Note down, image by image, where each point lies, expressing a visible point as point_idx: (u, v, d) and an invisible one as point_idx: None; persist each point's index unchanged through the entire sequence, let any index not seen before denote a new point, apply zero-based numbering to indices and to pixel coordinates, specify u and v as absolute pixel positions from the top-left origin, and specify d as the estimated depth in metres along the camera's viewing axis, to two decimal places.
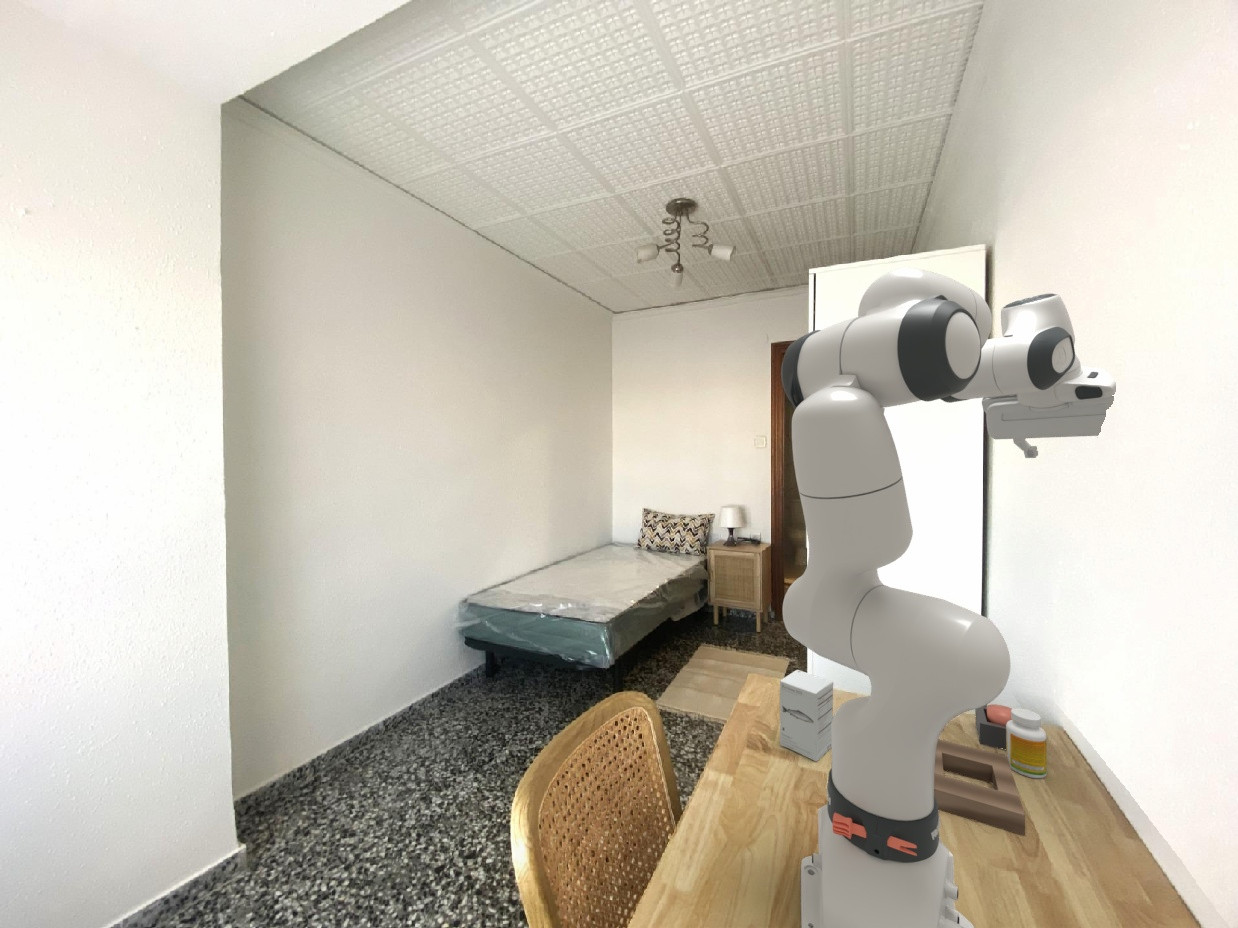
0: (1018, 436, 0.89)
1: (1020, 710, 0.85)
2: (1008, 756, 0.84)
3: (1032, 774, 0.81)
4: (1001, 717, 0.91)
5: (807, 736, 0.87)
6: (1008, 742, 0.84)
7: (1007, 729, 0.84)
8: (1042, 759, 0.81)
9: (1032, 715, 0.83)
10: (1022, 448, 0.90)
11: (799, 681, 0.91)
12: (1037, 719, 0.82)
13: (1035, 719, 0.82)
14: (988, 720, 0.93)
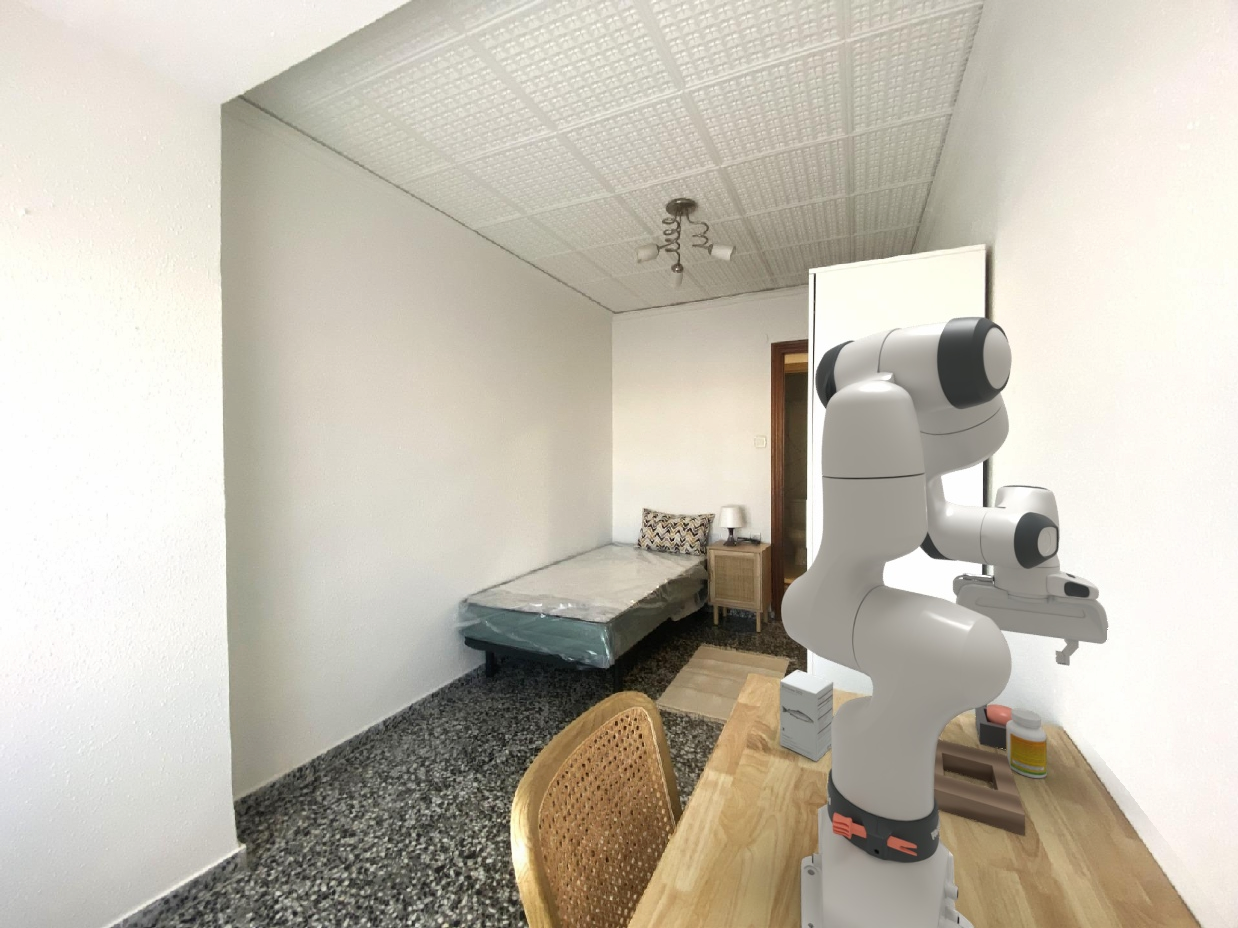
0: None
1: (1020, 710, 0.85)
2: (1008, 756, 0.84)
3: (1032, 774, 0.81)
4: (1001, 717, 0.91)
5: (807, 736, 0.87)
6: (1008, 742, 0.84)
7: (1007, 729, 0.84)
8: (1042, 759, 0.81)
9: (1033, 715, 0.83)
10: None
11: (798, 681, 0.91)
12: (1037, 719, 0.82)
13: (1035, 719, 0.82)
14: (988, 720, 0.93)
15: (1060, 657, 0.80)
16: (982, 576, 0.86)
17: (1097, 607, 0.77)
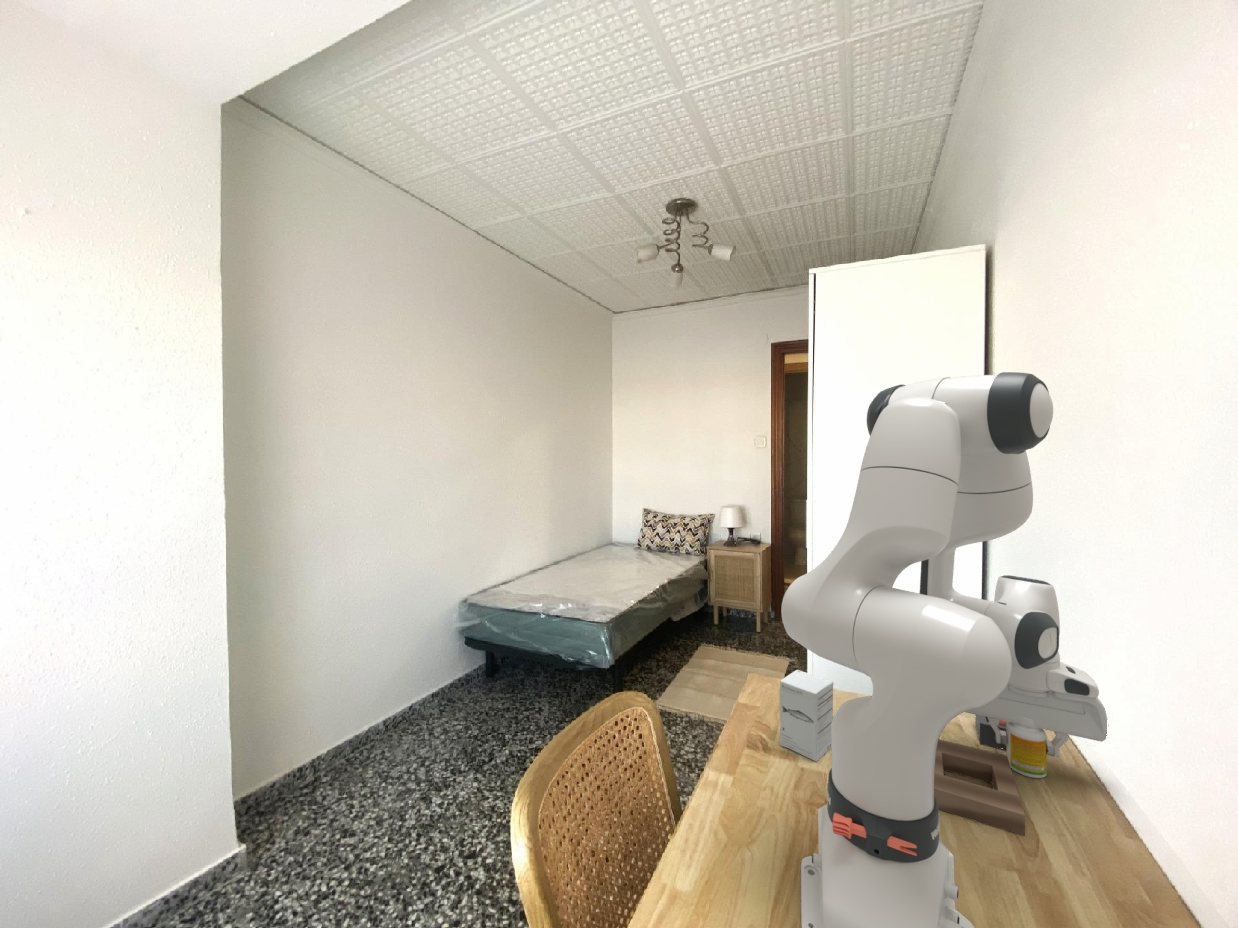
0: (989, 714, 0.85)
1: None
2: (1008, 756, 0.84)
3: (1032, 774, 0.81)
4: None
5: (807, 736, 0.87)
6: (1008, 742, 0.84)
7: (1007, 729, 0.84)
8: (1042, 759, 0.81)
9: None
10: (997, 730, 0.85)
11: (798, 681, 0.91)
12: None
13: None
14: (988, 720, 0.93)
15: (1049, 748, 0.81)
16: None
17: (1097, 705, 0.77)
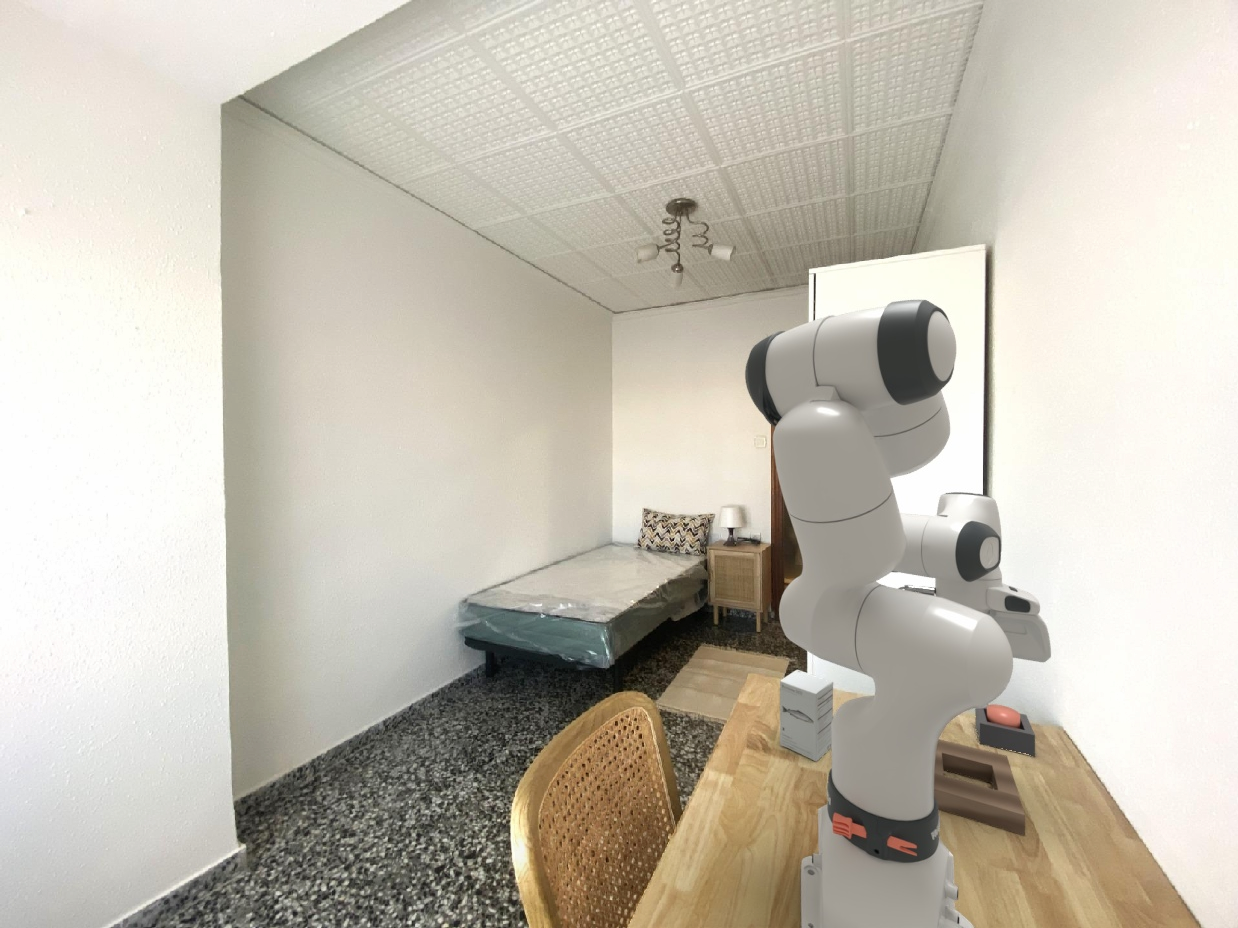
0: None
1: None
2: None
3: None
4: (1001, 717, 0.91)
5: (807, 736, 0.87)
6: None
7: None
8: None
9: None
10: None
11: (798, 681, 0.91)
12: None
13: None
14: (988, 720, 0.93)
15: None
16: (923, 588, 0.81)
17: (1038, 623, 0.72)
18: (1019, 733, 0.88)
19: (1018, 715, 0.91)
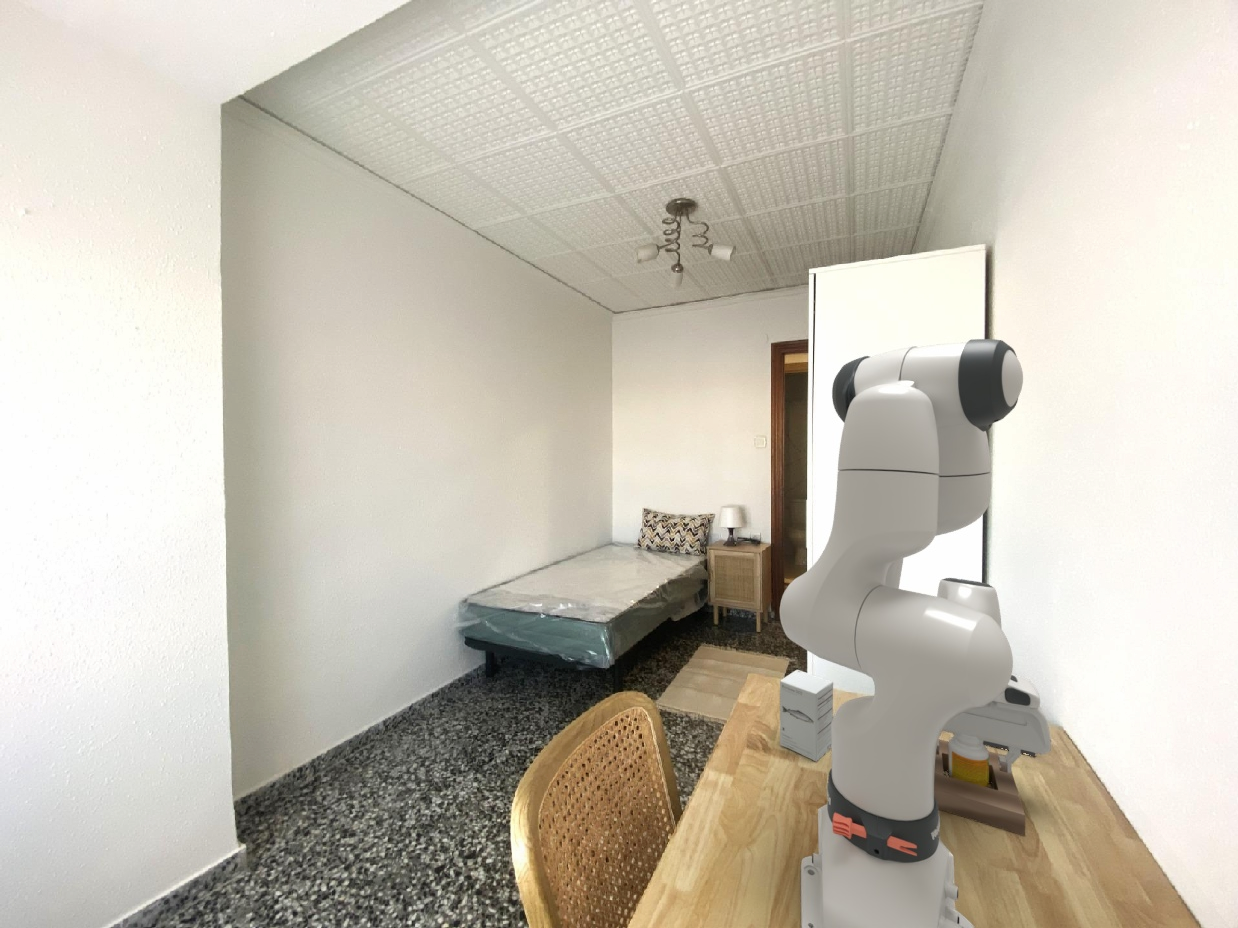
0: None
1: None
2: (950, 775, 0.80)
3: None
4: None
5: (807, 736, 0.87)
6: (950, 760, 0.79)
7: (949, 746, 0.80)
8: (984, 778, 0.76)
9: None
10: None
11: (798, 681, 0.91)
12: None
13: None
14: None
15: (1002, 764, 0.76)
16: None
17: (1038, 716, 0.72)
18: None
19: None
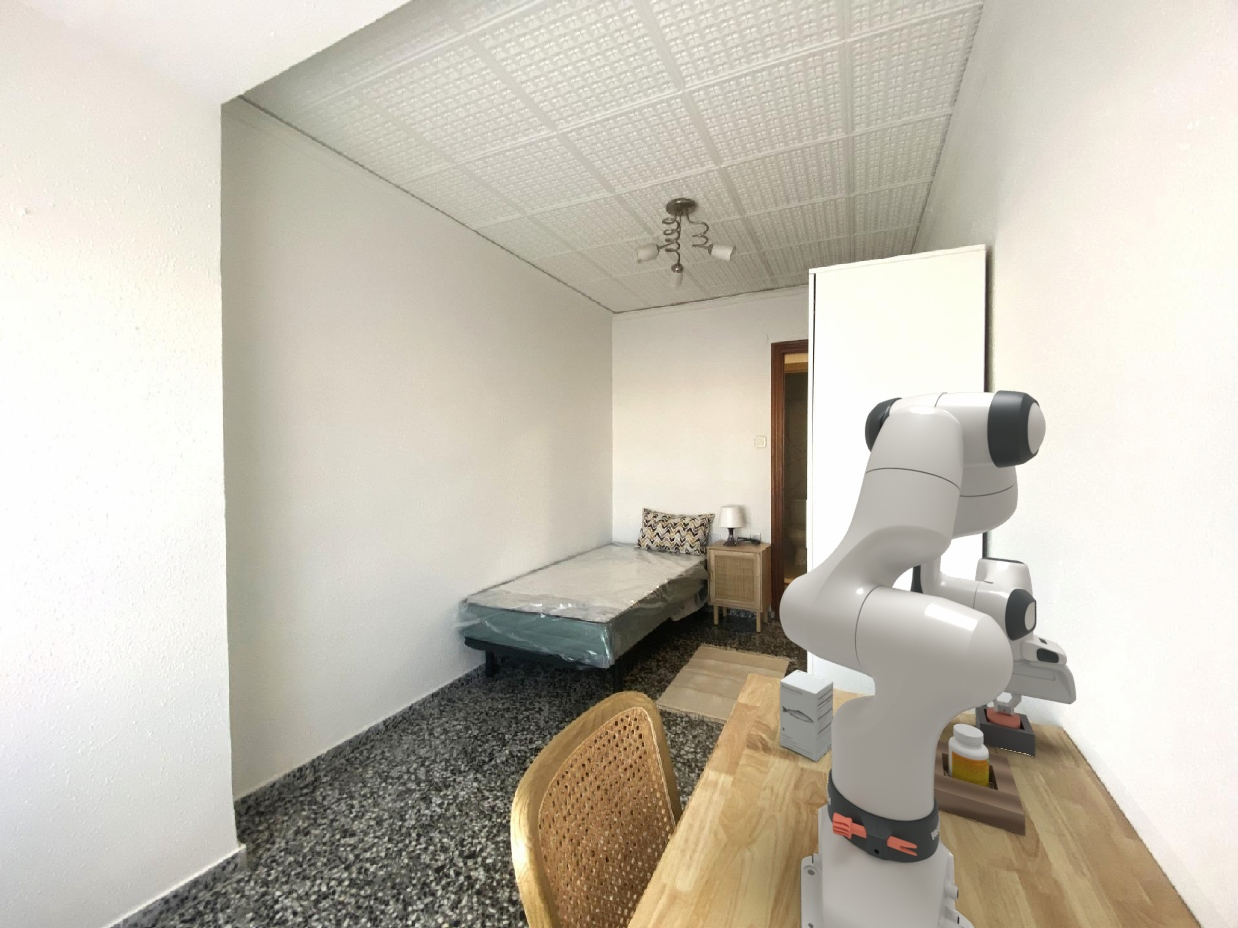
0: None
1: (963, 726, 0.80)
2: (950, 775, 0.80)
3: None
4: (1001, 720, 0.91)
5: (807, 736, 0.87)
6: (950, 760, 0.79)
7: (949, 746, 0.80)
8: (984, 778, 0.76)
9: (975, 731, 0.78)
10: (994, 701, 0.92)
11: (798, 681, 0.91)
12: (979, 736, 0.77)
13: (976, 736, 0.77)
14: None
15: (1006, 708, 0.91)
16: None
17: (1065, 672, 0.86)
18: (1019, 733, 0.88)
19: (1018, 718, 0.91)
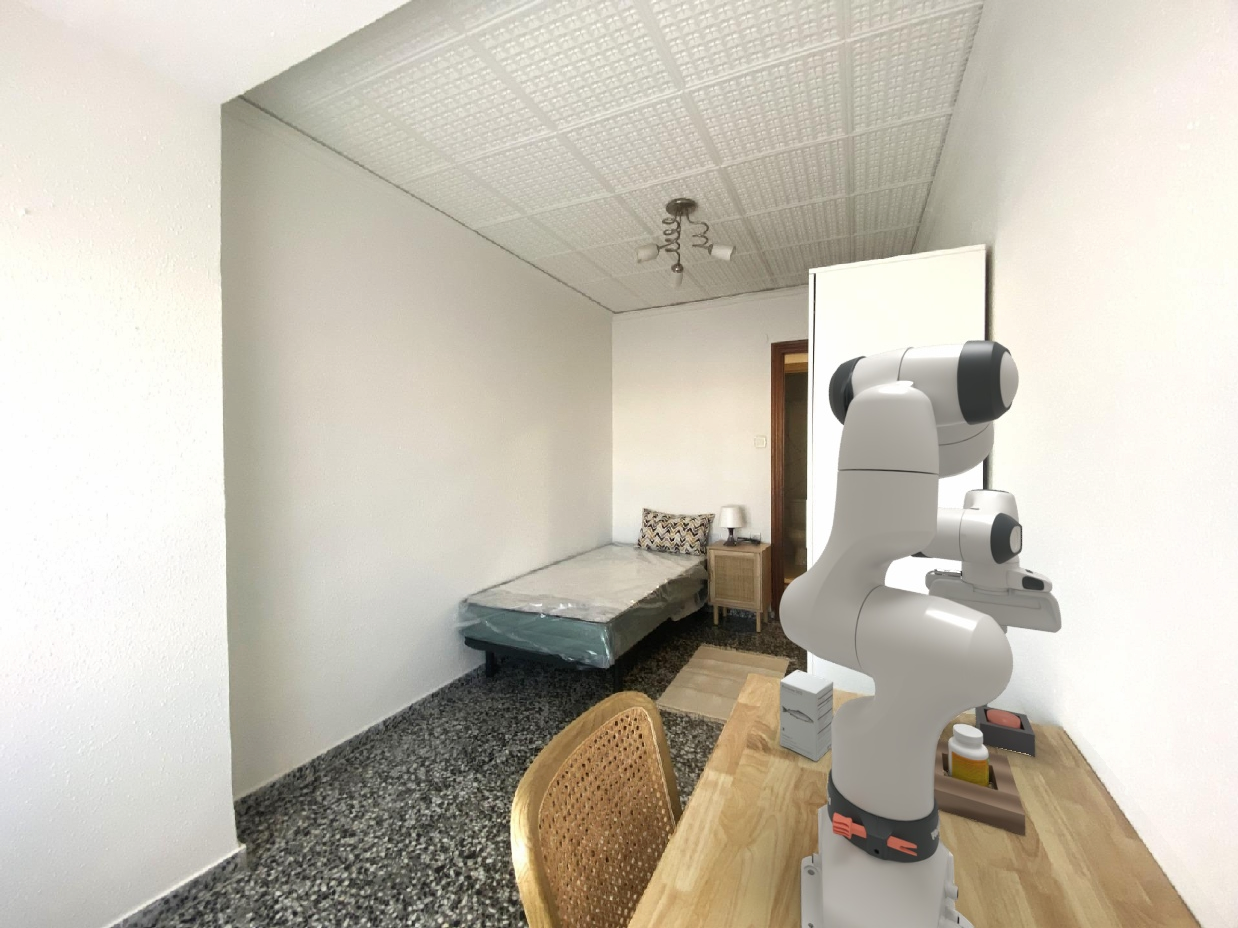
0: None
1: (963, 726, 0.80)
2: (950, 775, 0.80)
3: None
4: (1001, 722, 0.91)
5: (807, 736, 0.87)
6: (950, 760, 0.79)
7: (949, 746, 0.80)
8: (984, 778, 0.76)
9: (975, 731, 0.78)
10: None
11: (798, 681, 0.91)
12: (978, 736, 0.77)
13: (976, 736, 0.77)
14: None
15: None
16: (951, 571, 0.95)
17: (1051, 599, 0.86)
18: (1019, 733, 0.88)
19: (1018, 720, 0.91)
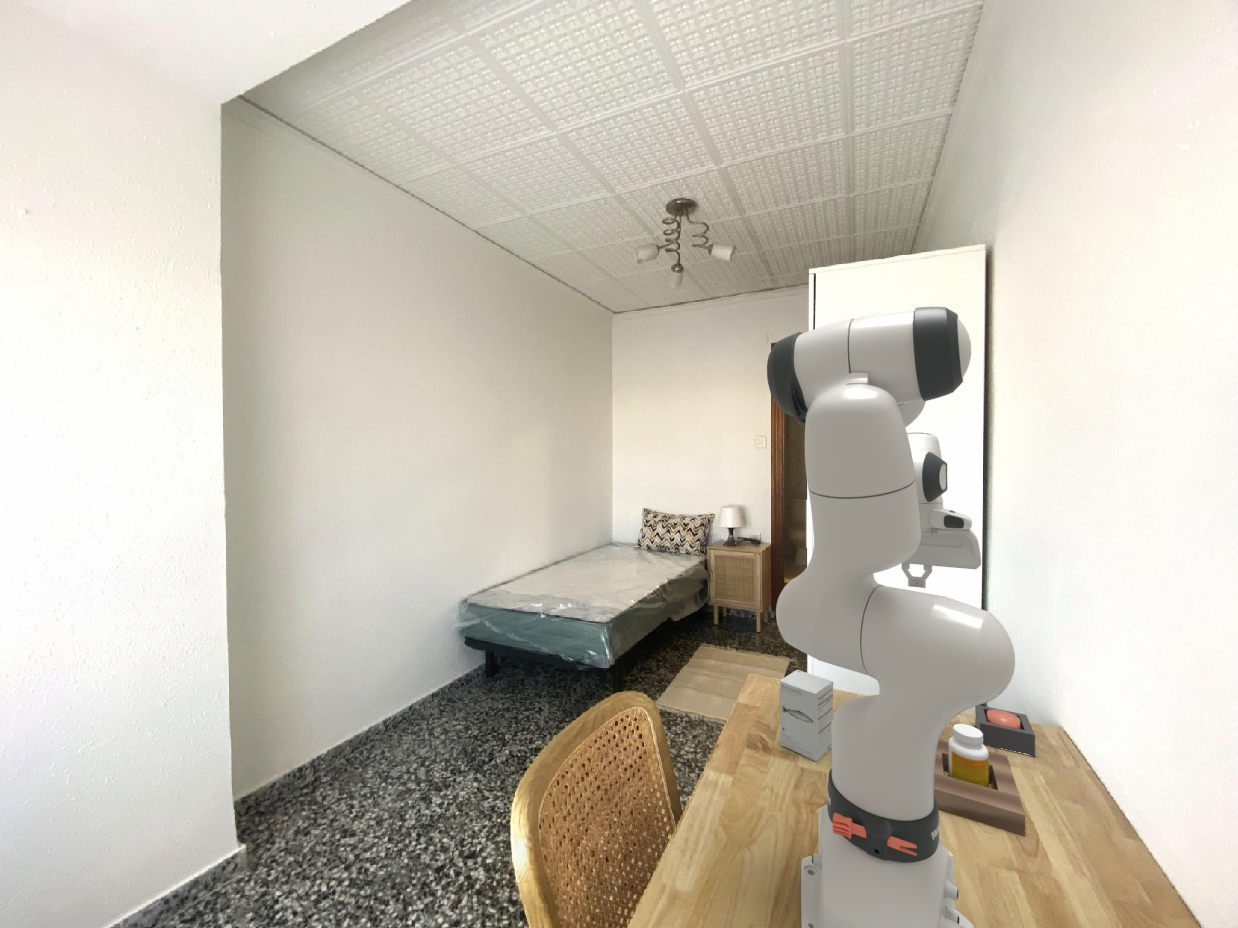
0: None
1: (963, 726, 0.80)
2: (950, 775, 0.80)
3: None
4: (1001, 722, 0.91)
5: (807, 736, 0.87)
6: (950, 760, 0.79)
7: (949, 746, 0.80)
8: (984, 778, 0.76)
9: (975, 731, 0.78)
10: (908, 574, 0.94)
11: (798, 681, 0.91)
12: (978, 736, 0.77)
13: (976, 736, 0.77)
14: None
15: (918, 581, 0.93)
16: None
17: (970, 537, 0.88)
18: (1019, 733, 0.88)
19: (1018, 720, 0.91)
